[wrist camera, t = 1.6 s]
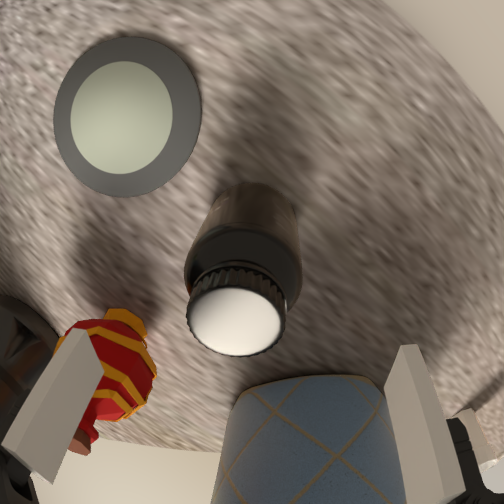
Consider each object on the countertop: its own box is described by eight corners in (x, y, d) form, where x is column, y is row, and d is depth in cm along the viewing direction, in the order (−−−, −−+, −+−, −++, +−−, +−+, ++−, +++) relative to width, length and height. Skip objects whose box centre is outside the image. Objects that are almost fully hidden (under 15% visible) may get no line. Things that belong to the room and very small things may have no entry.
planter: (383, 440, 41) (401, 569, 20) (243, 455, 44) (229, 582, 24) (403, 345, 31) (461, 549, 10) (199, 370, 34) (155, 570, 13)
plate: (68, 198, 25) (64, 201, 25) (53, 58, 19) (48, 58, 18) (206, 192, 24) (204, 195, 24) (199, 25, 18) (197, 23, 18)
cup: (436, 428, 40) (451, 482, 30) (462, 404, 37) (482, 461, 27) (459, 428, 41) (475, 477, 31) (484, 405, 37) (504, 456, 28)
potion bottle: (126, 272, 28) (47, 396, 15) (188, 347, 32) (152, 474, 19) (66, 306, 31) (-2, 405, 18) (123, 367, 35) (80, 469, 22)
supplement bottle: (205, 181, 24) (152, 258, 13) (296, 180, 23) (314, 259, 13) (213, 260, 27) (178, 367, 17) (294, 260, 27) (304, 371, 16)
